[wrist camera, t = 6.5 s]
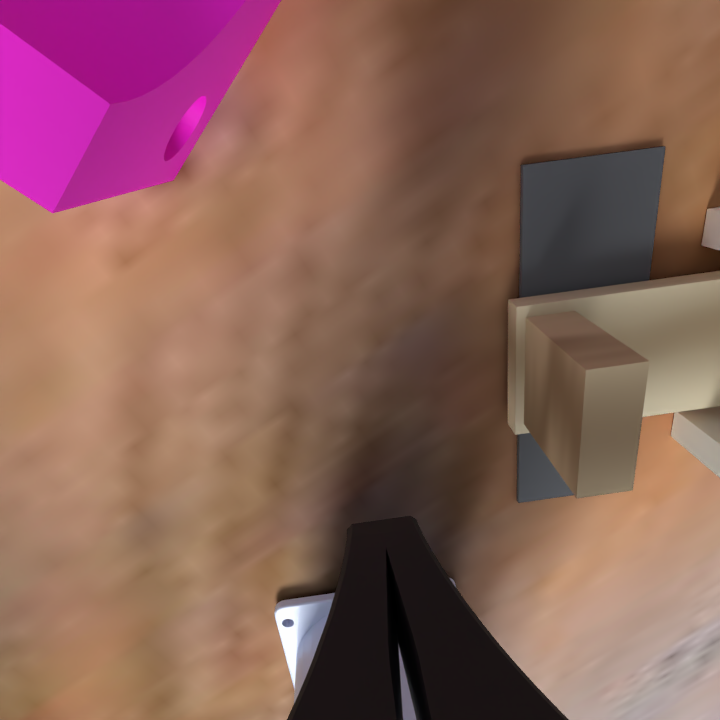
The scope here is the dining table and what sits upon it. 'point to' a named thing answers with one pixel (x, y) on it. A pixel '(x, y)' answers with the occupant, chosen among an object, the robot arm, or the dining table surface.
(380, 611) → the robot arm
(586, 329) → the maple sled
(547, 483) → the dark grey panel
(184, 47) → the toy block
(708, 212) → the cream tunnel
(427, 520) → the dining table surface
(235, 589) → the dining table surface
